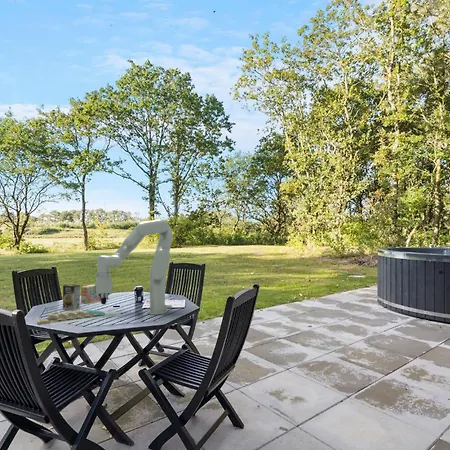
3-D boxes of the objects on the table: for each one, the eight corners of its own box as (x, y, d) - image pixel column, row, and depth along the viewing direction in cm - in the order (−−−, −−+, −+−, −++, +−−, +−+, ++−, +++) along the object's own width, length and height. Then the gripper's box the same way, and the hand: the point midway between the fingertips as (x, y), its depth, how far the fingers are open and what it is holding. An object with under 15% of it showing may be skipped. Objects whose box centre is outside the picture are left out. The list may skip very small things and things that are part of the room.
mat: (114, 311, 237) (114, 310, 237) (121, 315, 225) (121, 315, 225) (47, 320, 214) (47, 319, 214) (50, 325, 203) (50, 324, 203)
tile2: (92, 312, 224) (75, 309, 219) (94, 314, 220) (77, 311, 215) (91, 315, 224) (75, 312, 219) (93, 317, 220) (76, 314, 215)
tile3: (83, 314, 222) (67, 310, 216) (85, 315, 217) (68, 312, 212) (82, 316, 221) (66, 313, 216) (84, 318, 217) (67, 315, 212)
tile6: (56, 317, 213) (37, 319, 207) (57, 319, 209) (38, 321, 203) (56, 320, 213) (37, 322, 207) (57, 322, 209) (38, 324, 203)
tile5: (65, 316, 216) (48, 313, 211) (67, 318, 212) (49, 314, 206) (64, 319, 216) (47, 315, 210) (66, 320, 211) (48, 317, 206)
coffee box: (62, 309, 242) (62, 285, 242) (69, 307, 248) (69, 284, 248) (73, 310, 239) (73, 286, 239) (80, 308, 245) (80, 284, 245)
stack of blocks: (101, 298, 281) (101, 282, 281) (108, 298, 278) (108, 282, 278) (80, 303, 261) (80, 286, 261) (87, 304, 259) (87, 287, 259)
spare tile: (102, 311, 228) (86, 309, 223) (105, 313, 224) (88, 310, 218) (102, 314, 228) (86, 311, 222) (104, 315, 224) (88, 313, 218)
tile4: (74, 315, 219) (57, 311, 213) (76, 316, 215) (59, 313, 209) (74, 317, 218) (56, 314, 213) (75, 319, 214) (58, 316, 209)
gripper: (92, 276, 219) (92, 306, 219) (117, 274, 227) (117, 303, 227) (89, 275, 225) (89, 304, 225) (113, 273, 233) (113, 301, 233)
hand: (103, 304), depth 226 cm, fingers closed
